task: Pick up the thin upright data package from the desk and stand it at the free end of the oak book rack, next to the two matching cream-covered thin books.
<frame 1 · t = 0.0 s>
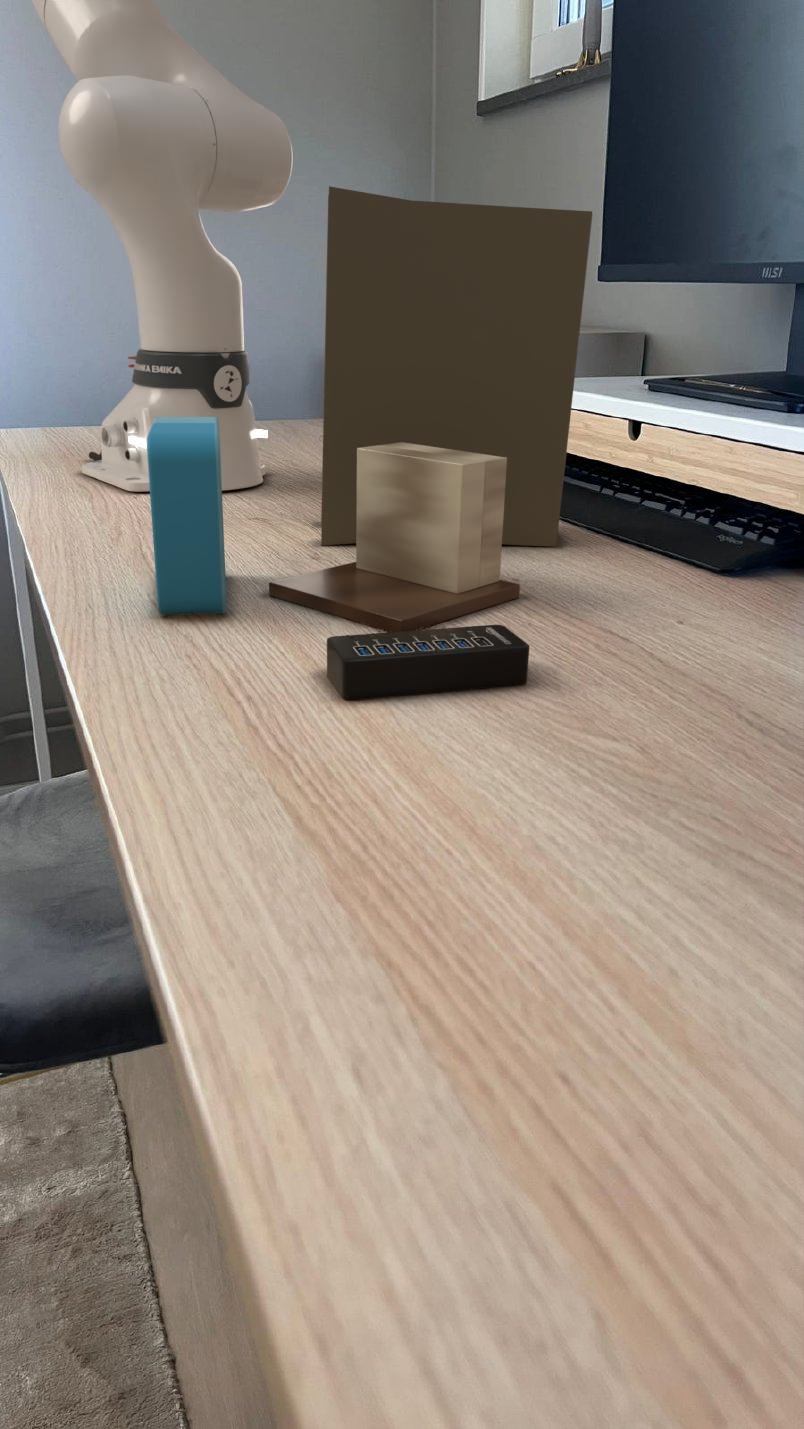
book rack: (395, 596, 76), on the table
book: (442, 536, 95), on the table
multiport hub: (426, 682, 60), on the table
data package: (194, 598, 74), on the table
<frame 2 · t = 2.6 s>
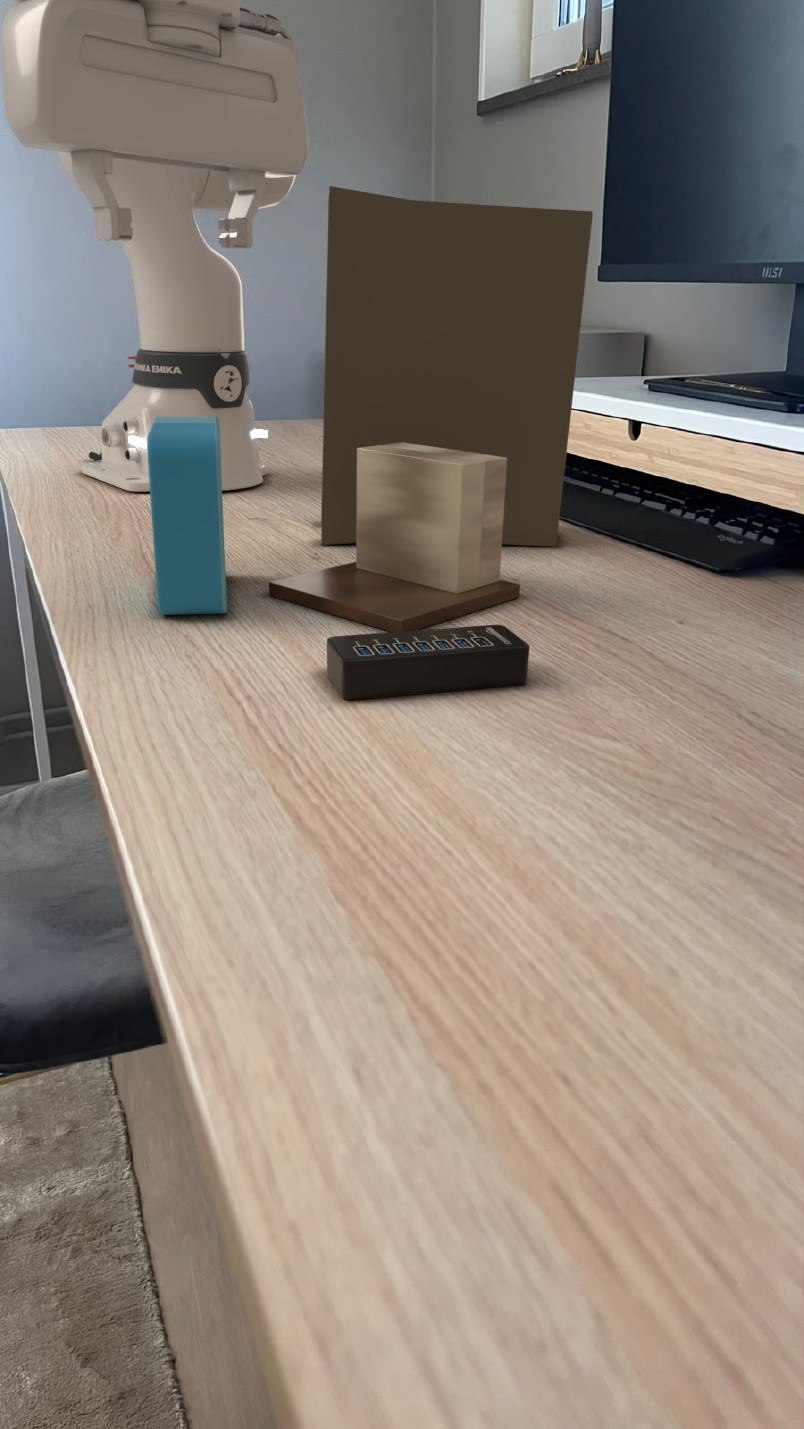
hand: (178, 245, 66), 23 cm above the table, tool pointing down, fingers open, 8 cm apart
nothing on the table moved.
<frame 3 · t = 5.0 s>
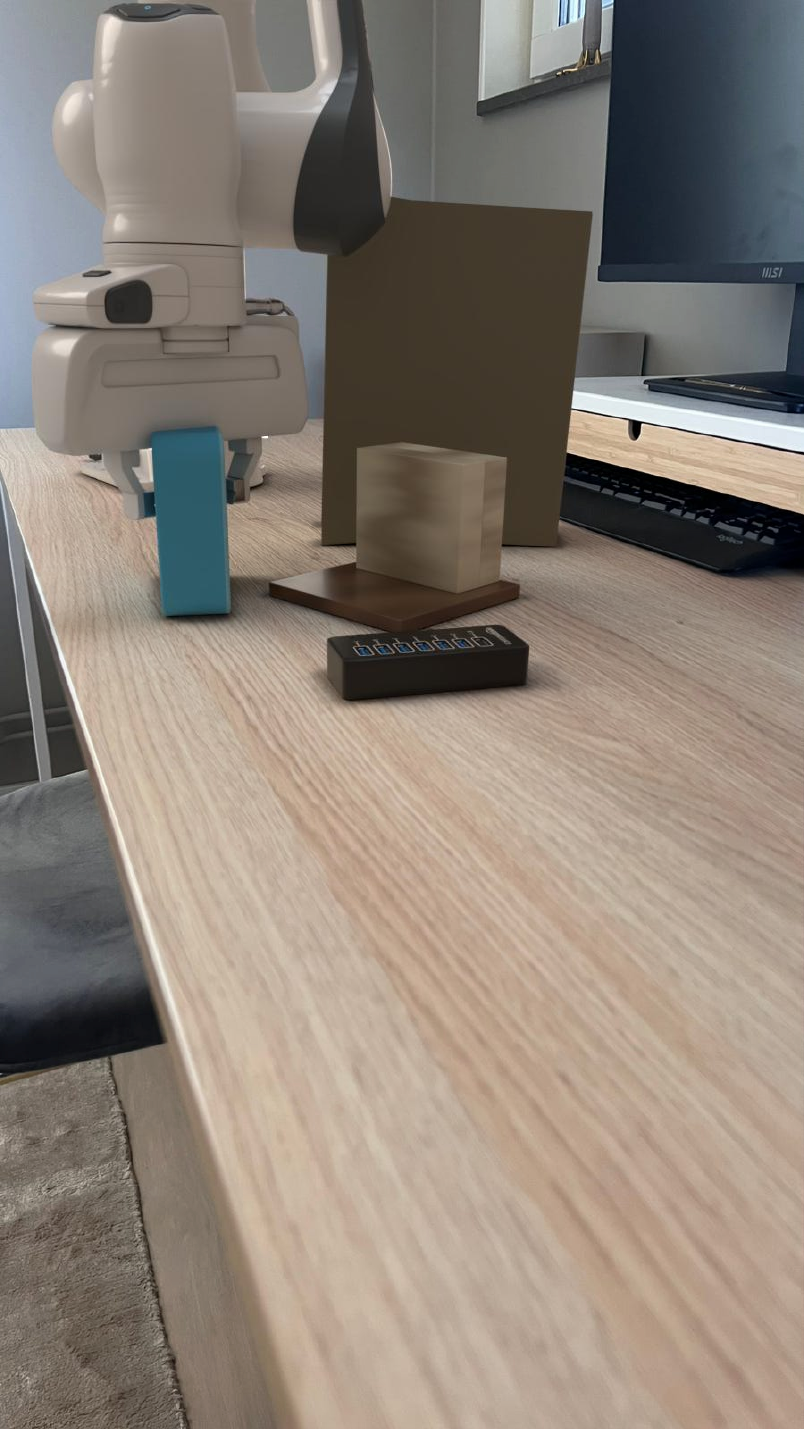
hand: (188, 510, 72), 6 cm above the table, tool pointing down, fingers closed on data package, 7 cm apart
data package: (194, 599, 74), on the table, touching gripper
everything else where it was.
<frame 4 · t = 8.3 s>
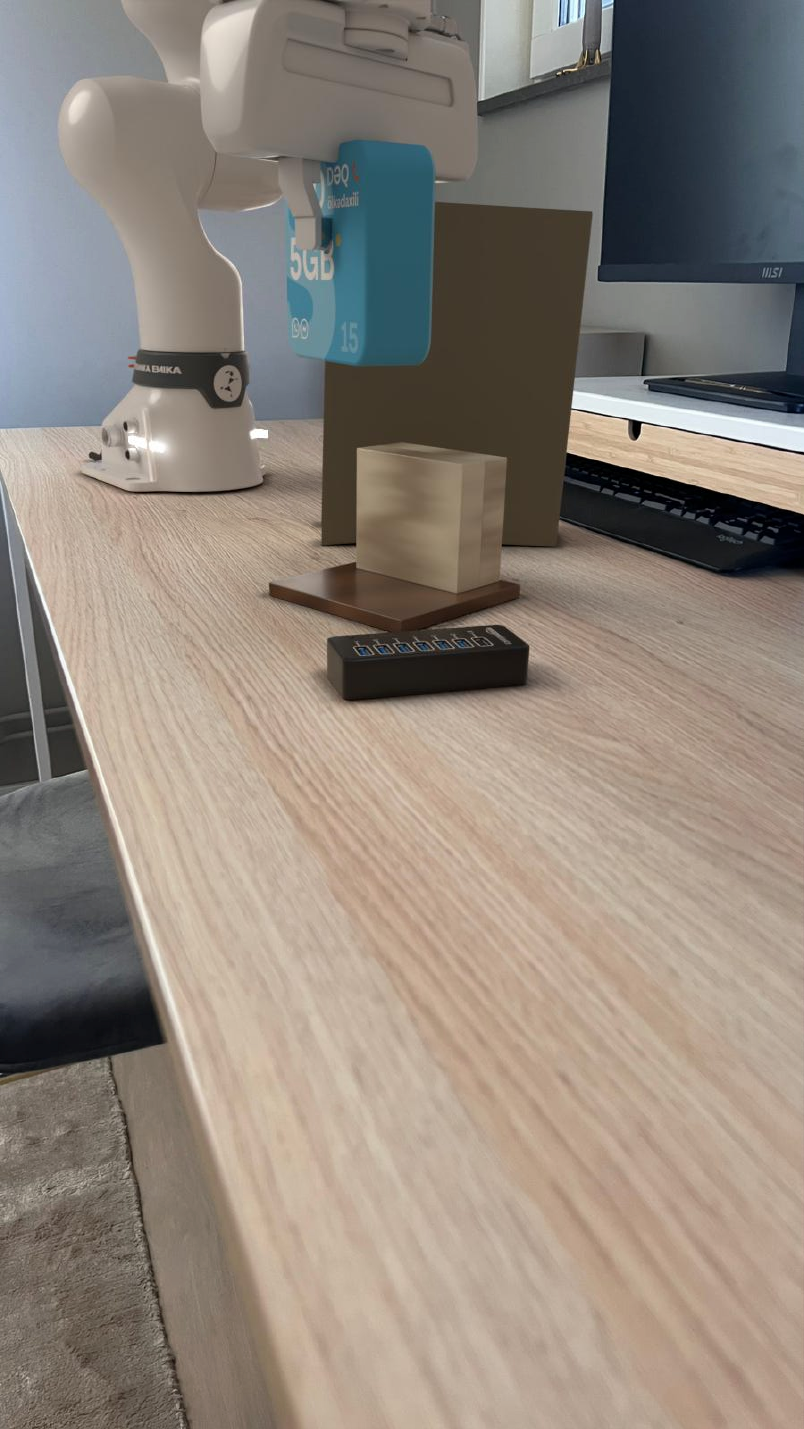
hand: (353, 253, 64), 23 cm above the table, tool pointing down, fingers closed on data package, 5 cm apart
data package: (355, 364, 66), point 16 cm above the table, touching gripper
everything else where it was.
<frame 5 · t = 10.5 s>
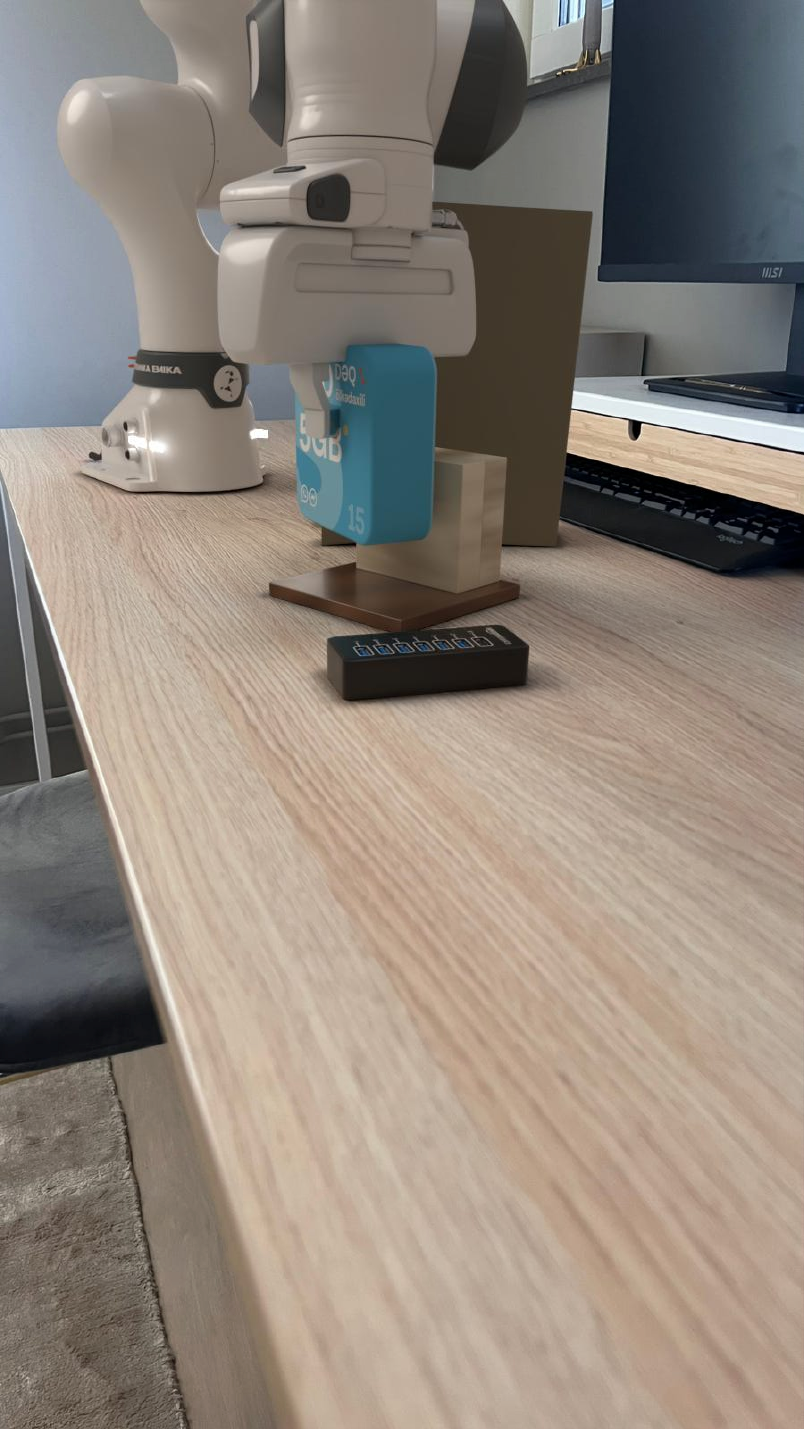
hand: (359, 433, 68), 12 cm above the table, tool pointing down, fingers closed on data package, 5 cm apart
data package: (361, 532, 71), point 5 cm above the table, touching gripper
everything else where it was.
when the fingers open (7 cm above the table, at t = 12.1 s): data package stays where it is, resting on book rack.
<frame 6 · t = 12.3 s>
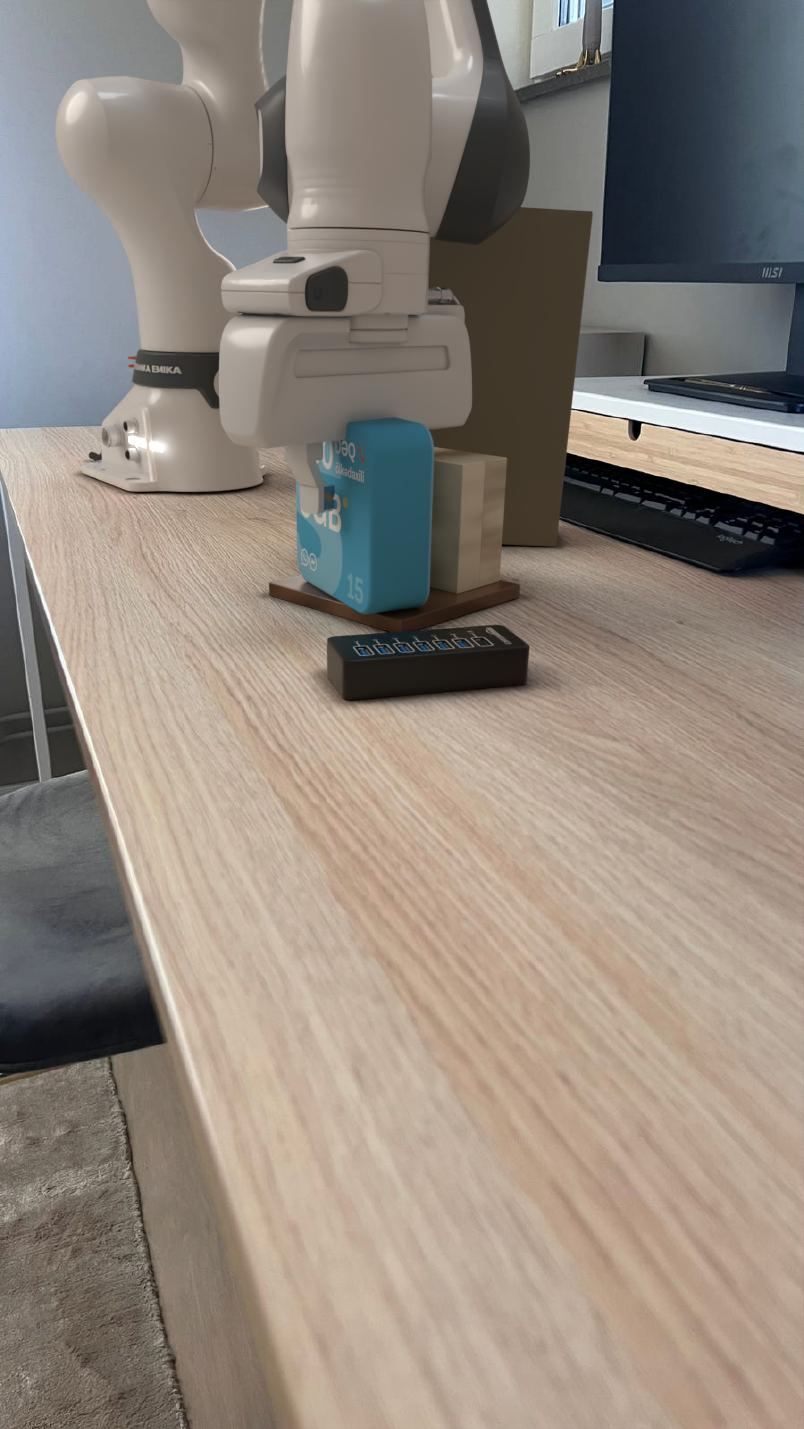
hand: (357, 505, 70), 7 cm above the table, tool pointing down, fingers open, 6 cm apart
data package: (359, 596, 72), point 1 cm above the table, touching book rack
everything else where it was.
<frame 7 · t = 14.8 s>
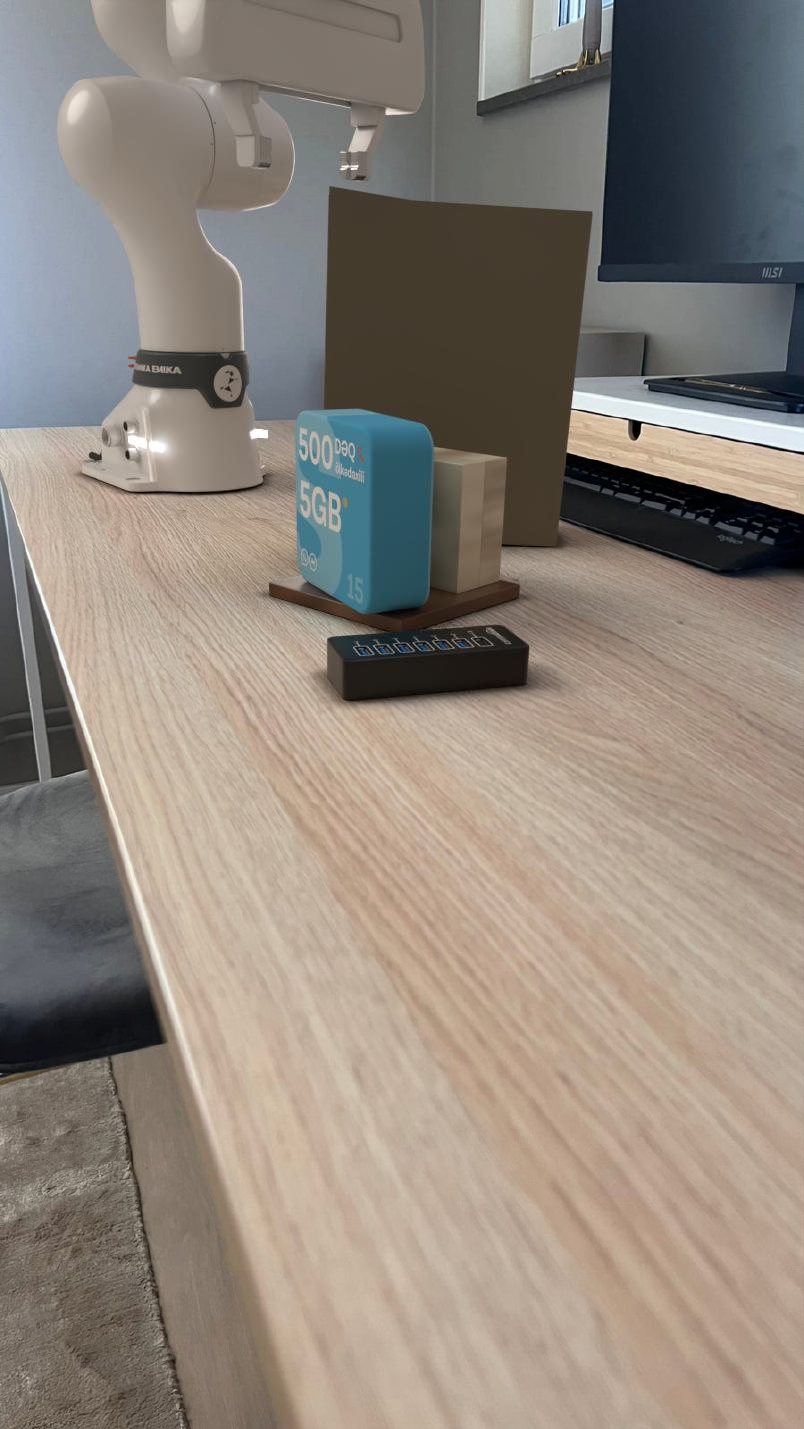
hand: (307, 174, 71), 28 cm above the table, tool pointing down, fingers open, 8 cm apart
nothing on the table moved.
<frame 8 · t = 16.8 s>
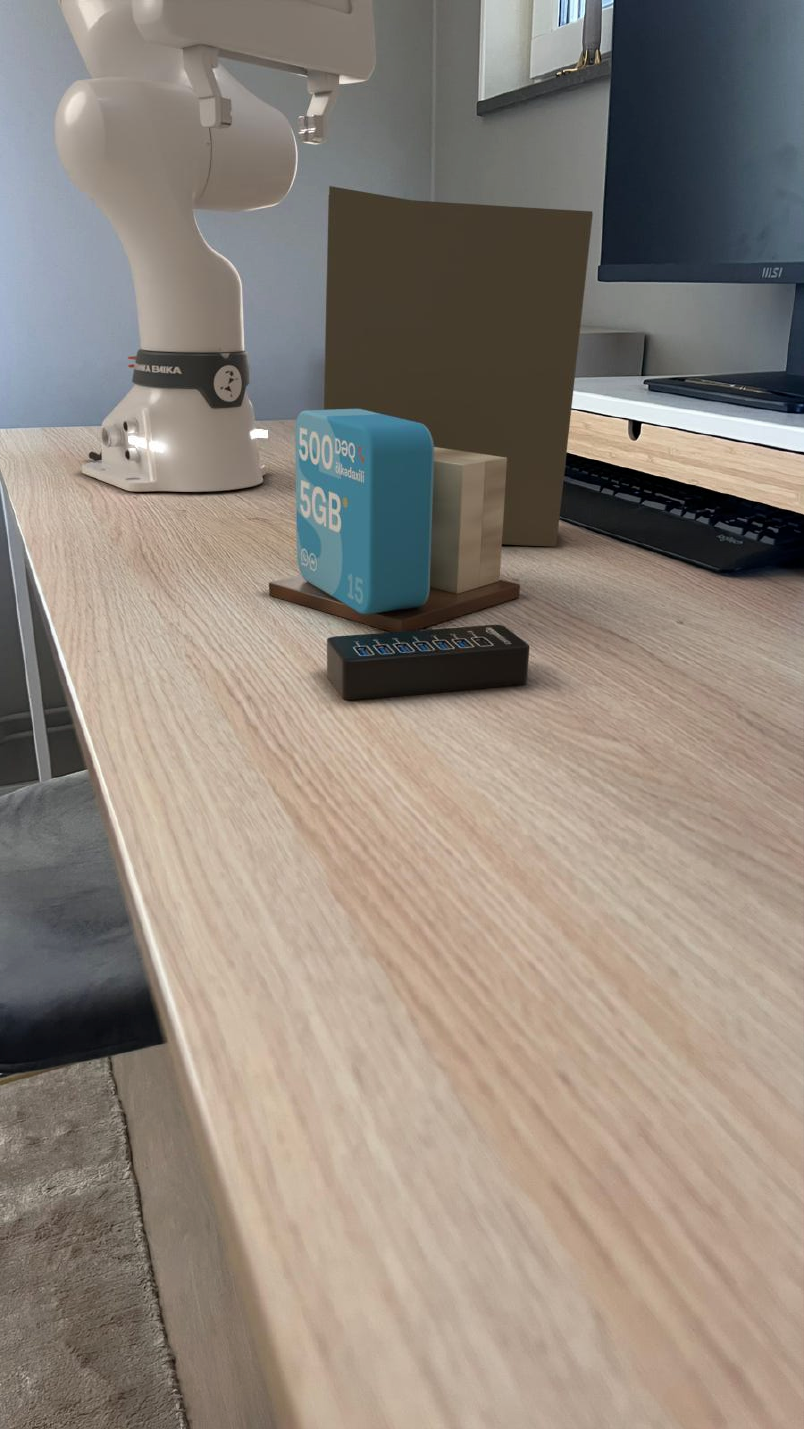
hand: (266, 135, 77), 31 cm above the table, tool pointing down, fingers open, 8 cm apart
nothing on the table moved.
at the end: data package 0.4 cm from the target spot on the book rack, point 0.8 cm above the book rack's base; data package tilted 0°; the gripper is holding nothing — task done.
